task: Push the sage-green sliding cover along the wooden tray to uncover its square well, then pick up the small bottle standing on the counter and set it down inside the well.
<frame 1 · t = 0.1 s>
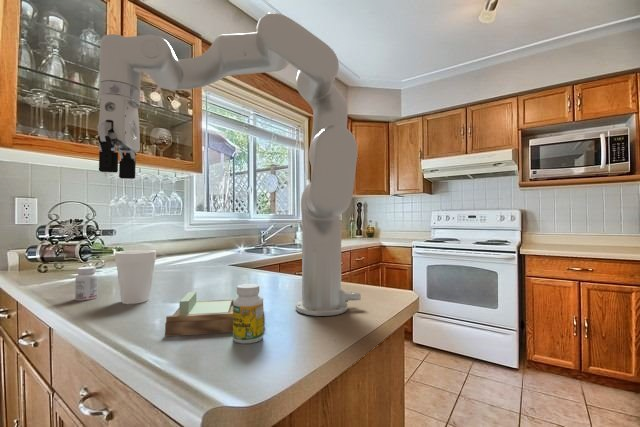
hand: (118, 175, 67), 31 cm above the countertop, tool pointing down, fingers open, 9 cm apart
supplement bottle: (248, 339, 56), on the countertop
cover: (207, 303, 65), point 4 cm above the countertop, slide at 0.0 cm
foam cup: (135, 301, 83), on the countertop
pill bottle: (86, 299, 85), on the countertop
wooden tray: (219, 322, 65), on the countertop
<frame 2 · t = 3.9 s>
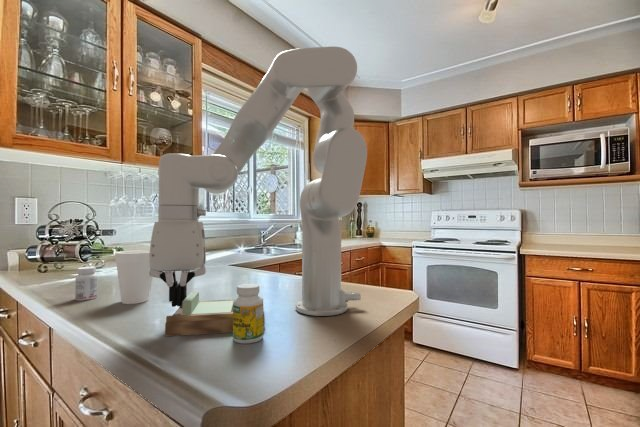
hand: (177, 304, 63), 4 cm above the countertop, tool pointing down, fingers closed
cover: (210, 303, 65), point 4 cm above the countertop, slide at 0.5 cm, touching gripper
everything else where it was.
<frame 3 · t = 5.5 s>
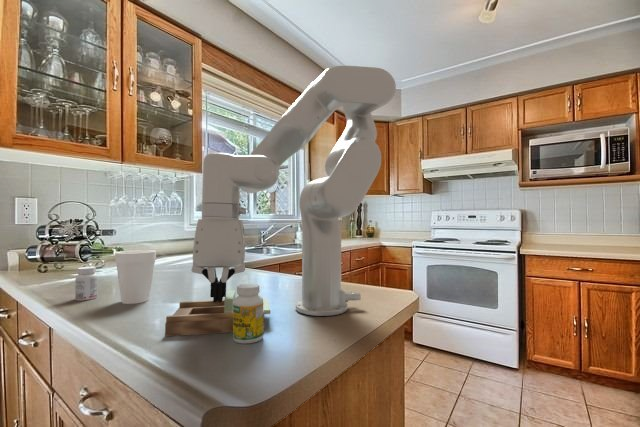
hand: (218, 300, 65), 5 cm above the countertop, tool pointing down, fingers closed
cover: (248, 301, 66), point 4 cm above the countertop, slide at 8.2 cm, touching gripper
everything else where it was.
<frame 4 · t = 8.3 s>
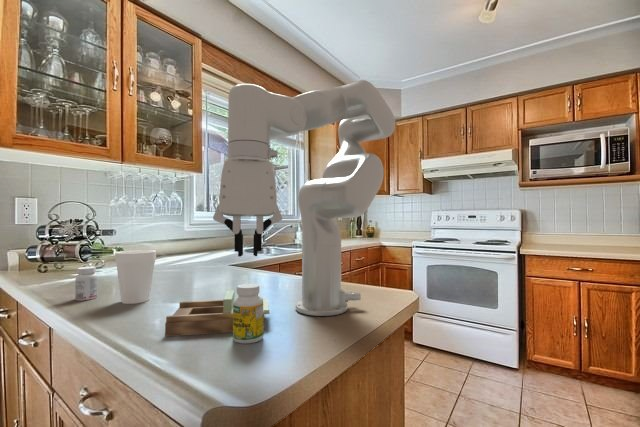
hand: (248, 254, 57), 15 cm above the countertop, tool pointing down, fingers closed
cover: (247, 301, 66), point 4 cm above the countertop, slide at 8.0 cm
everything else where it was.
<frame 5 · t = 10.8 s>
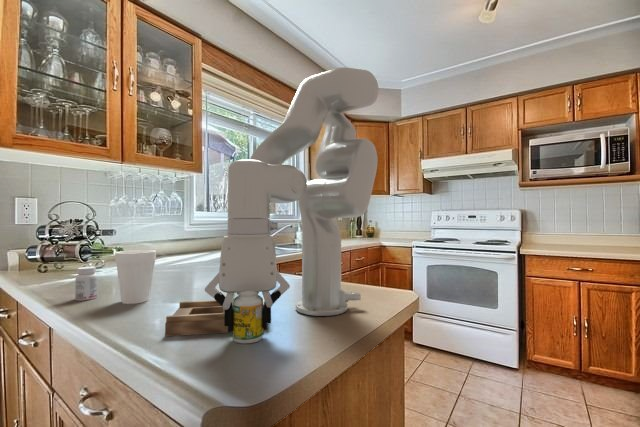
hand: (248, 327, 56), 2 cm above the countertop, tool pointing down, fingers closed on supplement bottle, 5 cm apart
supplement bottle: (247, 339, 56), on the countertop, touching gripper
everything else where it was.
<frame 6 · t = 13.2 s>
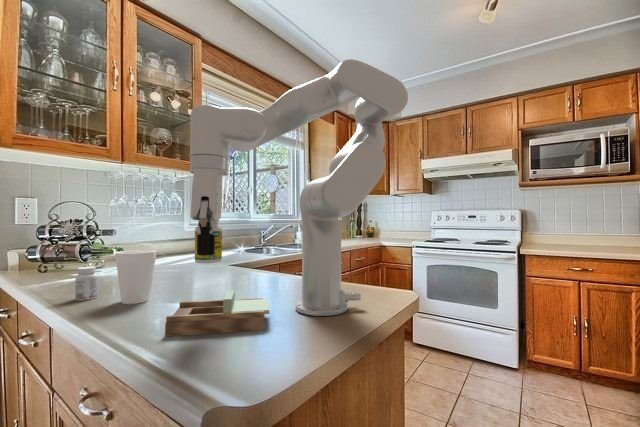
hand: (208, 252, 65), 15 cm above the countertop, tool pointing down, fingers closed on supplement bottle, 5 cm apart
supplement bottle: (208, 263, 65), point 13 cm above the countertop, touching gripper
everything else where it was.
when the fingers open (3 cm above the countertop, at t = 15.6 s): supplement bottle stays where it is, resting on wooden tray.
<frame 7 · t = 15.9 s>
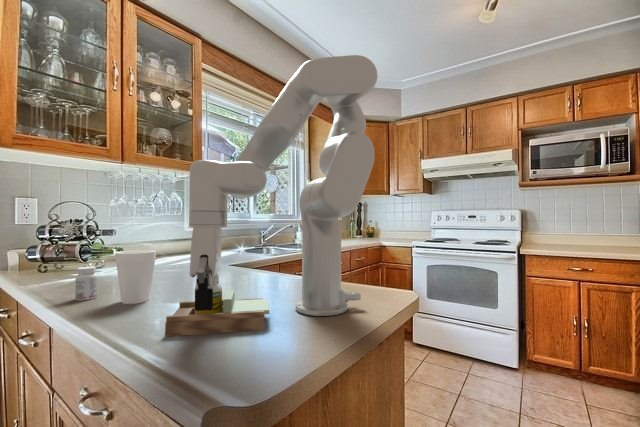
hand: (207, 303, 65), 4 cm above the countertop, tool pointing down, fingers open, 8 cm apart
supplement bottle: (208, 322, 64), resting on wooden tray
everything else where it was.
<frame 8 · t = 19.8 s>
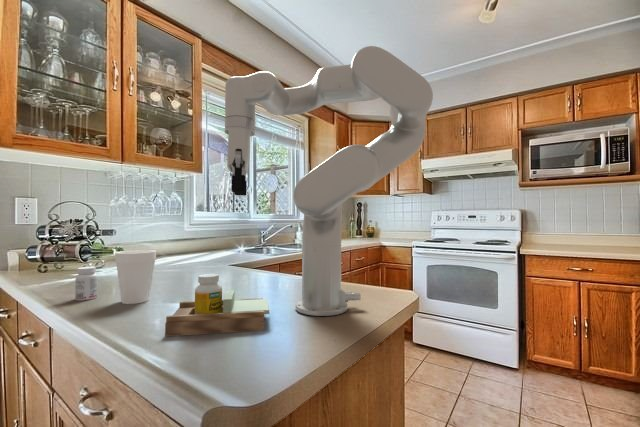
hand: (239, 193, 80), 28 cm above the countertop, tool pointing down, fingers open, 9 cm apart
nothing on the countertop moved.
at the end: cover slide at 8.0 cm; supplement bottle 0.2 cm from the target spot on the wooden tray, point 0.2 cm above the wooden tray's base; supplement bottle tilted 0° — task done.
